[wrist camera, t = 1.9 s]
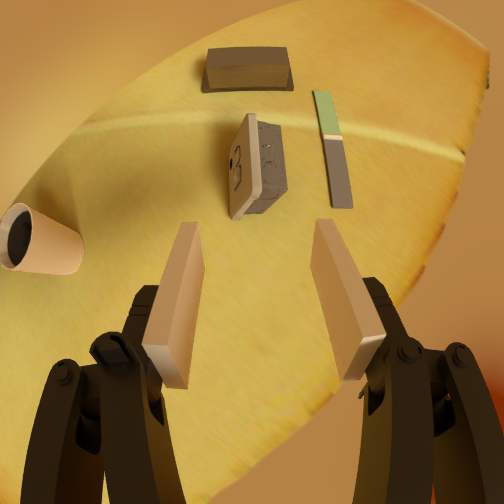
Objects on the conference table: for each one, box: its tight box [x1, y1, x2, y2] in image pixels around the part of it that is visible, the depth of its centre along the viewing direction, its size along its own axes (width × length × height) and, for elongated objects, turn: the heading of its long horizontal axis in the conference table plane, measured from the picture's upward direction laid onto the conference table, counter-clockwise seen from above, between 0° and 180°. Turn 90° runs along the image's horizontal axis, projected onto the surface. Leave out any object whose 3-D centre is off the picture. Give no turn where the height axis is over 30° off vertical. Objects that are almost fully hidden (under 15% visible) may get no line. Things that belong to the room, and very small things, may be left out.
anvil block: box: [202, 47, 294, 93], centre depth 30 cm, size 12×5×5 cm, turn 92°
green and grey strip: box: [313, 91, 353, 208], centre depth 30 cm, size 2×17×1 cm, turn 2°
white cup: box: [0, 203, 84, 275], centre depth 23 cm, size 7×7×10 cm
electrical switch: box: [229, 114, 288, 221], centre depth 26 cm, size 8×5×8 cm, turn 3°
